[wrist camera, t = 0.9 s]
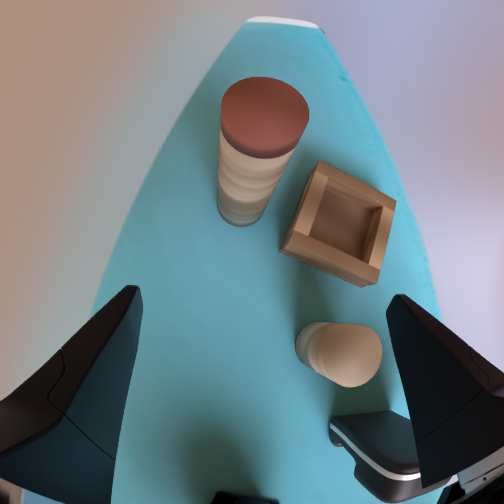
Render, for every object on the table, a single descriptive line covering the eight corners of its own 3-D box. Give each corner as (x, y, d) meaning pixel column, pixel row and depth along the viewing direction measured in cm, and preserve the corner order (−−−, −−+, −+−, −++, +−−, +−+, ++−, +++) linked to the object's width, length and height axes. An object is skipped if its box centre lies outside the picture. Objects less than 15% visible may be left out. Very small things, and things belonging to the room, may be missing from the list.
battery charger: (321, 450, 21) (381, 517, 10) (328, 415, 22) (399, 471, 11) (385, 442, 22) (457, 487, 11) (392, 408, 23) (474, 443, 12)
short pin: (329, 373, 23) (368, 393, 16) (287, 359, 23) (316, 378, 16) (346, 330, 24) (390, 335, 17) (305, 314, 23) (340, 316, 17)
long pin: (253, 234, 24) (293, 156, 12) (209, 215, 24) (205, 121, 11) (271, 193, 25) (318, 96, 12) (228, 175, 25) (243, 67, 12)
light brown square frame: (360, 287, 24) (376, 284, 22) (279, 251, 24) (287, 244, 21) (381, 210, 26) (397, 200, 24) (309, 173, 26) (319, 159, 23)
